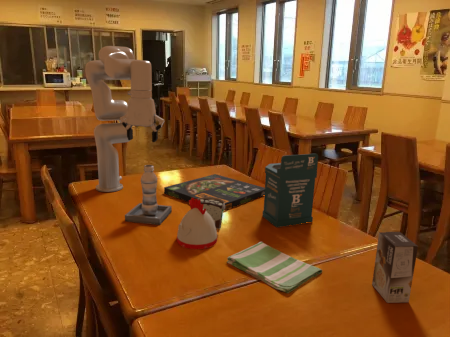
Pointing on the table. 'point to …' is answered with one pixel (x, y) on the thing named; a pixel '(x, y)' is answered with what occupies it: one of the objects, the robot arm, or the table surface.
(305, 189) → the donation box
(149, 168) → the plastic bottle
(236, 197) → the pizza box
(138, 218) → the tray
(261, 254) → the dish towel
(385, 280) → the coffee box
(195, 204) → the kitchen timer
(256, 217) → the table surface
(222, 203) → the food container
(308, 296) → the table surface
